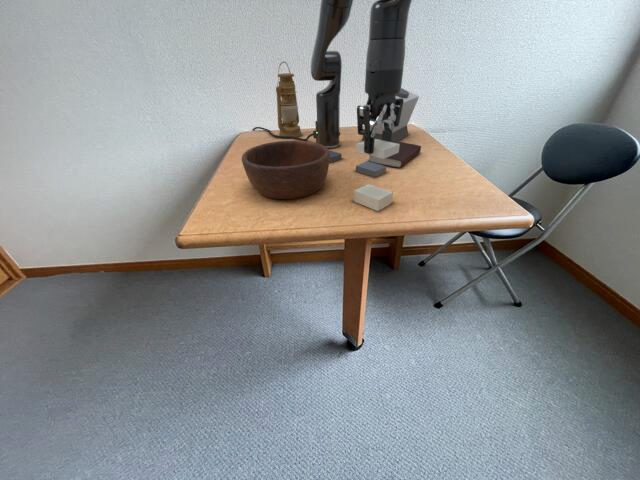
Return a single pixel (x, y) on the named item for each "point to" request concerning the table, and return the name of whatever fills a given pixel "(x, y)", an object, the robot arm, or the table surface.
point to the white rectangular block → (373, 197)
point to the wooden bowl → (287, 168)
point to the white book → (380, 148)
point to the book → (398, 155)
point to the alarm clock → (406, 113)
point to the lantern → (287, 105)
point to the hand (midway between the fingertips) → (377, 149)
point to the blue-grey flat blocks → (362, 166)
